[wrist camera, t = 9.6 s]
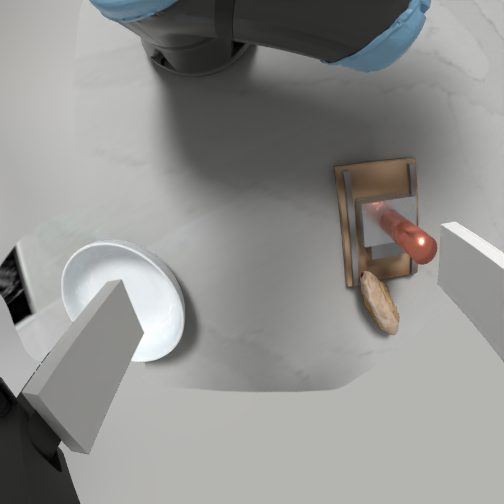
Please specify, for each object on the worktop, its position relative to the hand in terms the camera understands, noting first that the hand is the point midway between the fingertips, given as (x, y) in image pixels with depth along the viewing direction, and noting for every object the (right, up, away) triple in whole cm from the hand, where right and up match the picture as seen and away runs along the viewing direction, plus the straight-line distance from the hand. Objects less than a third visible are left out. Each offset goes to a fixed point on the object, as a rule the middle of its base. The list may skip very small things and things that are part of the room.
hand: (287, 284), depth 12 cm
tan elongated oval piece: (+21, -7, +38) cm, 43 cm away
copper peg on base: (+17, +5, +30) cm, 35 cm away
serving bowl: (-21, -5, +37) cm, 43 cm away
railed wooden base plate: (+17, +6, +32) cm, 36 cm away
